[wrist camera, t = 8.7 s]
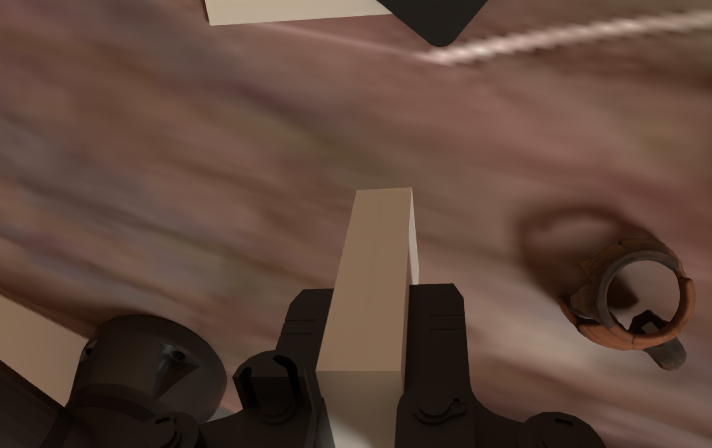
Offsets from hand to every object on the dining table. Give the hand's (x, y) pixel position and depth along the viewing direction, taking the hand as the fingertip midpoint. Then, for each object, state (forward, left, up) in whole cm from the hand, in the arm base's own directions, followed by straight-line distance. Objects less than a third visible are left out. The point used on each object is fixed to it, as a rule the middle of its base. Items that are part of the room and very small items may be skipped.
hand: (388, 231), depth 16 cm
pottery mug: (+16, -23, -26) cm, 38 cm away
